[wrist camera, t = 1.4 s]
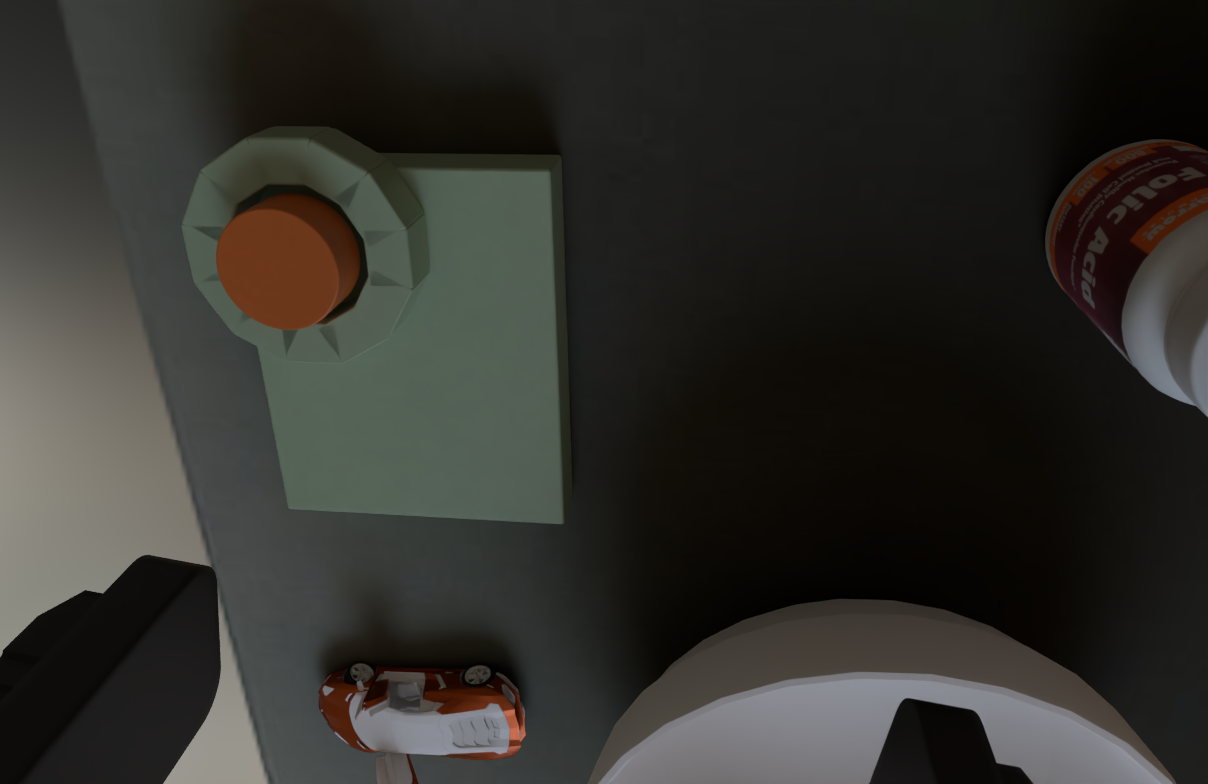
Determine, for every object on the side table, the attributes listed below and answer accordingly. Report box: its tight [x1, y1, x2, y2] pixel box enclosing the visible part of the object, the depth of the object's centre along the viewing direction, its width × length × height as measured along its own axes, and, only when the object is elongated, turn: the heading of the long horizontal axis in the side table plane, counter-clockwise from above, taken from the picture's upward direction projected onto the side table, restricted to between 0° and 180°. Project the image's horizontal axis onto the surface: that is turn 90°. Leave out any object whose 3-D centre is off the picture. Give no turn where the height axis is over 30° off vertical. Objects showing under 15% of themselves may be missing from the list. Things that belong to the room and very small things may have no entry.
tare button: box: [216, 193, 360, 330], centre depth 24 cm, size 3×3×2 cm
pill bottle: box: [1045, 139, 1208, 417], centre depth 21 cm, size 5×5×8 cm
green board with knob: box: [181, 126, 573, 524], centre depth 27 cm, size 12×10×4 cm
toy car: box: [319, 662, 526, 784], centre depth 34 cm, size 5×8×3 cm, turn 94°
